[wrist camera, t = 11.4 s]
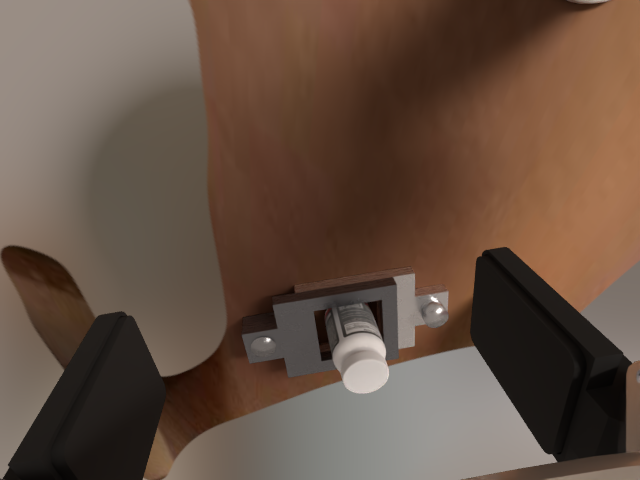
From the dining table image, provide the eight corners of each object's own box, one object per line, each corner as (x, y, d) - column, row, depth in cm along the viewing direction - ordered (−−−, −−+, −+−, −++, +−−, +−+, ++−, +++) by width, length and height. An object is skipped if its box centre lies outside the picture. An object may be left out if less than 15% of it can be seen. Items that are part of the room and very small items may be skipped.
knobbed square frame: (444, 260, 45) (456, 275, 42) (441, 332, 50) (451, 350, 47) (236, 294, 44) (234, 312, 41) (255, 364, 49) (255, 384, 46)
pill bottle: (347, 338, 49) (364, 405, 40) (314, 316, 47) (324, 382, 38) (380, 310, 47) (405, 373, 39) (348, 286, 45) (367, 347, 36)
